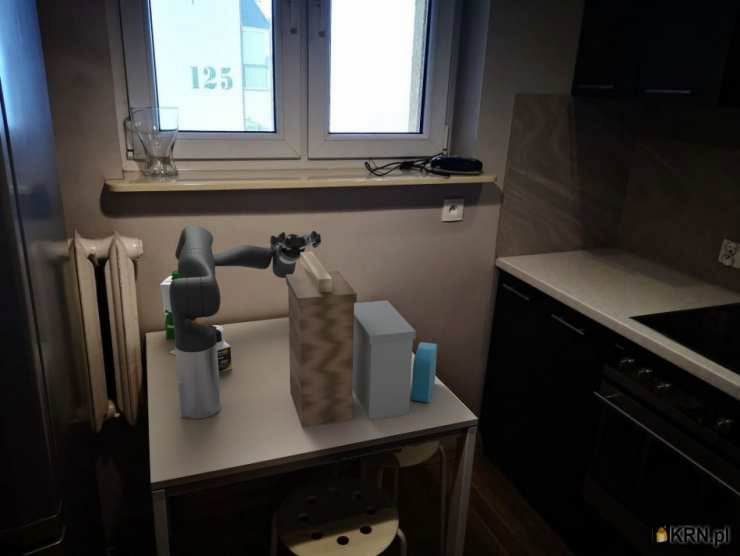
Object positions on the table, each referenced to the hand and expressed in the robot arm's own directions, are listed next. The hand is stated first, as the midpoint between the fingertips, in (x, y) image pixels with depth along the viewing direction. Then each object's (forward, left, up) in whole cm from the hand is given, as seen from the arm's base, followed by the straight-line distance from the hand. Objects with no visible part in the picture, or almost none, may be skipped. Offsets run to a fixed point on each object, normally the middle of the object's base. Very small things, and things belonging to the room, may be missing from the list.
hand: (299, 234), depth 156 cm
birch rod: (-1, -26, -4) cm, 26 cm away
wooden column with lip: (-1, -31, -36) cm, 47 cm away
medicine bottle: (-25, -4, -36) cm, 44 cm away
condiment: (-32, +8, -36) cm, 49 cm away
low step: (+14, -30, -36) cm, 49 cm away
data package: (+27, -31, -36) cm, 55 cm away
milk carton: (-34, +21, -36) cm, 54 cm away
